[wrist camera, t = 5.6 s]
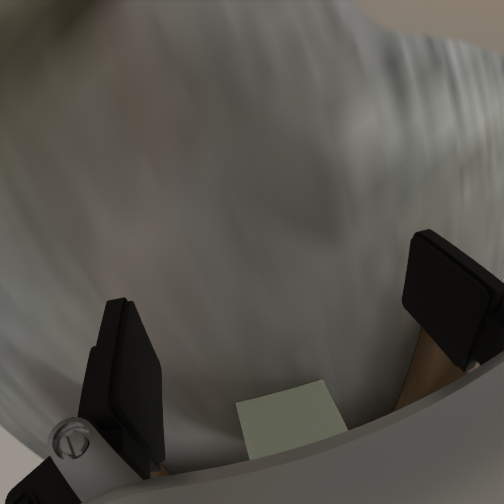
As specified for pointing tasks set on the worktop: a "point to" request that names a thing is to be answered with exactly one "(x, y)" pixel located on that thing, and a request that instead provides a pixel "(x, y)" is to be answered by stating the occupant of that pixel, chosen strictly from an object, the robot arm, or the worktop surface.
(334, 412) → the sage block
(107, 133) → the worktop surface
